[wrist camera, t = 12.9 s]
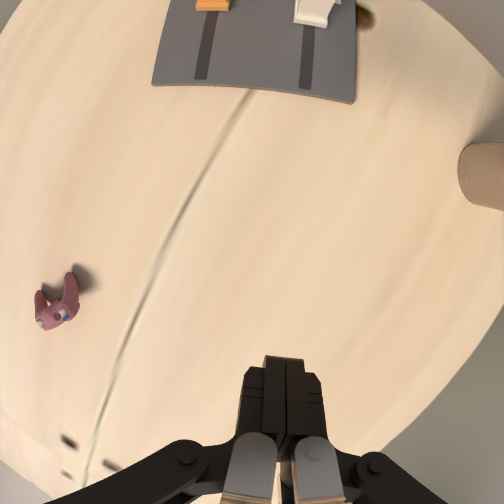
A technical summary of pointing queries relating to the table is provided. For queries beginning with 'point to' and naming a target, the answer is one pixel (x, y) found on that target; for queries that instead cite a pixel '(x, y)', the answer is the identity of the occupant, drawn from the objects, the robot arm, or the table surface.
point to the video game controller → (58, 305)
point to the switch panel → (259, 49)
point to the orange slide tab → (212, 5)
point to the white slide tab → (312, 12)
